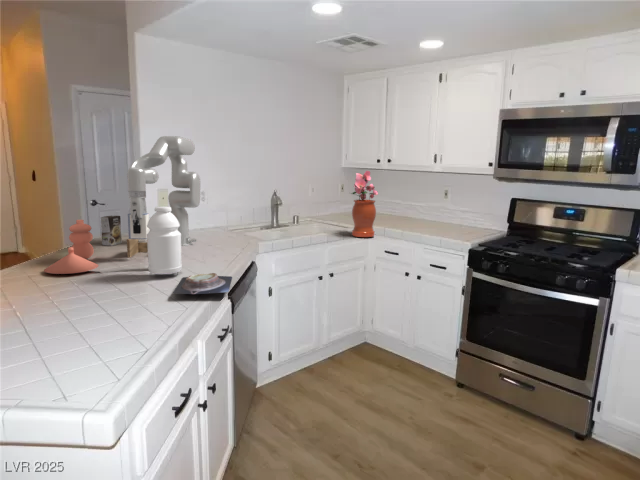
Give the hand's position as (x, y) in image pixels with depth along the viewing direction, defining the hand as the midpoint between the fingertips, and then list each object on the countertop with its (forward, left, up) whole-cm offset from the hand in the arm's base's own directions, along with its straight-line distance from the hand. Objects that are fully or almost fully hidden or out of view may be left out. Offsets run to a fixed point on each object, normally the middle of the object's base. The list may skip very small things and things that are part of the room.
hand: (138, 232), depth 204 cm
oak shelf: (0, -18, -13) cm, 22 cm away
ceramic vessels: (+25, +10, -14) cm, 30 cm away
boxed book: (0, 0, -3) cm, 3 cm away
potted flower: (-126, -77, -14) cm, 148 cm away
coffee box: (+27, -41, -14) cm, 51 cm away
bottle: (-17, +23, -14) cm, 32 cm away
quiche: (-38, +46, -14) cm, 61 cm away
